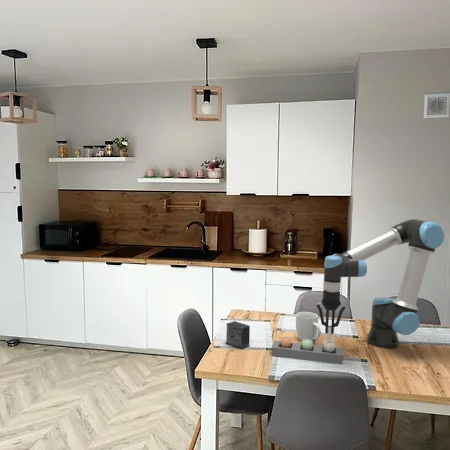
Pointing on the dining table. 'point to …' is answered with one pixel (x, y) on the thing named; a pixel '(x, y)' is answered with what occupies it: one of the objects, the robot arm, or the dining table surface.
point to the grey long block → (307, 353)
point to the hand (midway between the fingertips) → (329, 340)
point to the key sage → (307, 344)
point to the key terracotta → (285, 342)
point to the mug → (307, 325)
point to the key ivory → (329, 346)
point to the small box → (238, 334)
